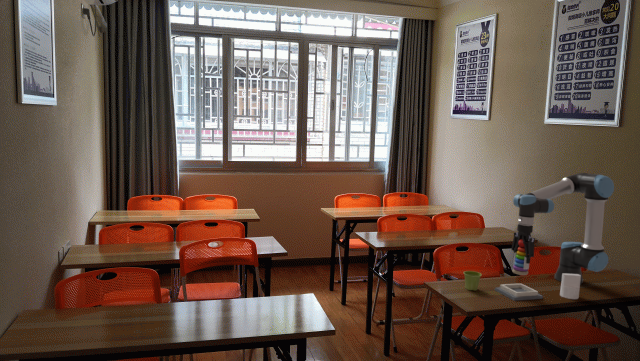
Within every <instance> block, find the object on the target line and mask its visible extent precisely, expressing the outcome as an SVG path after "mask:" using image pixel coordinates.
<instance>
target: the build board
mask: <svg viewBox="0 0 640 361" xmlns="http://www.w3.org/2000/svg"><path fill="white" fill-rule="evenodd" d="M494 291H495V292H497V293H499V294H501V295H502V296H505V297H507V298H508V299H510V300H512V301H514V302H515V301H528V300H529V301H530V300H531V301H532V300H541V299H544V295H542V294H540V293H539V291H538V290H535V289H533V288H532V287H529V286H527V285H525V284H523V283H521V282H520V283H503V284H499V286H498V287H494Z"/></svg>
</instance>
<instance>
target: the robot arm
mask: <svg viewBox="0 0 640 361" xmlns="http://www.w3.org/2000/svg"><path fill="white" fill-rule="evenodd" d="M614 191H615V185H614V181H613V180H612V178H611V177H609V176H606V175H603V174H597V173H596V174H595V173H588V172H580V173H579V172H578V173H574V174H572V175H568V176H565V177H563V178H562V179H560V181H557V182H555V183H552V184H550V185H547V186H544V187H541V188H539V189H536V190H534V191H531V192H528V193H525V194H522V193H517V194H516V195H514V197H513V199H512V200H513V201H512V202H513V205H514V206H515V207H516V208H519V210H518V219H517V220H518V221H517V223H518V224H517V227H516V230H517V232H513V238H512V239H513V240H512V244H511V251H512V252H513V266H514V263H515V262H516V261H515V259H516V255H517V251H518V248H519V247H520V246H519V244H518V242H519V240H520V239H522V240H523V244H524V246H525V253H526V256H525V259H524V268H523V269H528V270H529V269H530V264H531V258H535V241H536V238H535V237H532V235H531V234H532V233H533V230H534V220H535V214H551V213H552V212H553V211H554V210H555V203H554V201H553V200H552V199H555V198H558V197H560V196H563V195H571V194H573V193H579V194H583V195H584V197H583V198H584V200H585V201H586V211H585V212H586V213H585V215H586V216H585V226H584V239H583V240H584V241H583V242H580V241H564V242H562V243H561V247H560V254H559V263H558V264H559V265H558V267H557V269H556V272H555V273H554V279H555V280H556V281H559V282H561V281H562V273H567V274H579V275H581V279H580V285H582V284H583V283H584V278H583V272H582V268H583V269H586V270H588V271H591V272H596V273H599V272H602V271H603V270H604V269H605V268H606V267H607V266H608V263H609V256H608V254H607V253H606V252H605V247H604V246H603V244H602V241H603V229H604V227H603V226H604V216H605V203H606V202H608V200H609V197H611V196H612V195H613V193H614ZM526 242H528V243H526Z"/></svg>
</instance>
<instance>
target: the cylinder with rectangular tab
mask: <svg viewBox="0 0 640 361" xmlns="http://www.w3.org/2000/svg"><path fill="white" fill-rule="evenodd" d="M580 279H581V275H579V274H567V273H562V281H560V289H559V290H560V291H559V296H560V297H562V298H565V299H568V300H578V299H579V297H580V296H579V295H580V288H581V287H580V286H581V284H580Z"/></svg>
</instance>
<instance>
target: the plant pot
mask: <svg viewBox="0 0 640 361" xmlns="http://www.w3.org/2000/svg"><path fill="white" fill-rule="evenodd" d="M463 274H464V275H463V276H464V284H465V289H466V290H468V291H474V292H475V291H478V287H479V284H480V279H481V277H482V276H483V275H482V273H481V272H478V271H475V270H466V271H463Z"/></svg>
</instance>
